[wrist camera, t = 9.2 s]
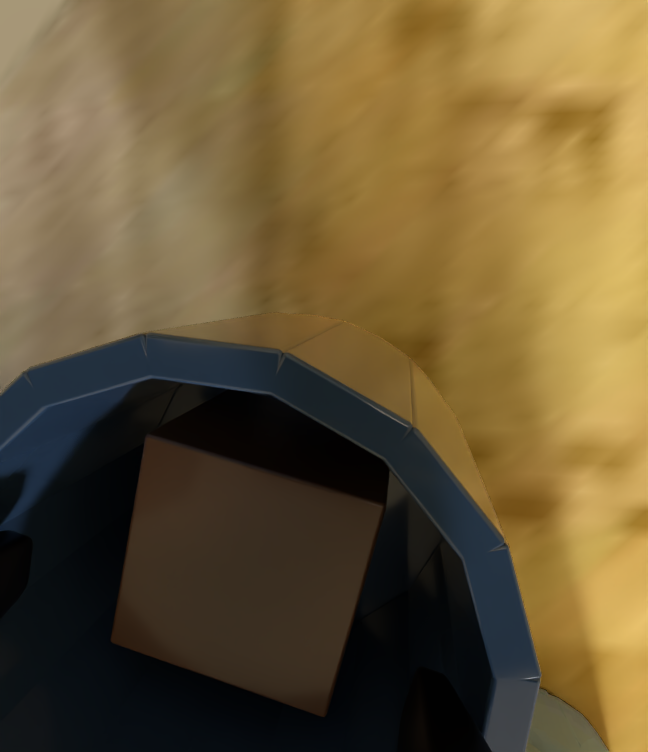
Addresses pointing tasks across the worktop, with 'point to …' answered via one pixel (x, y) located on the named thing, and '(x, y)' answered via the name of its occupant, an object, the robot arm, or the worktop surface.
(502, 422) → the worktop surface
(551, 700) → the green tapered tumbler
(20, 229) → the worktop surface
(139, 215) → the worktop surface
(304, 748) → the cup
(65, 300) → the worktop surface
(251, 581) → the brown cube
